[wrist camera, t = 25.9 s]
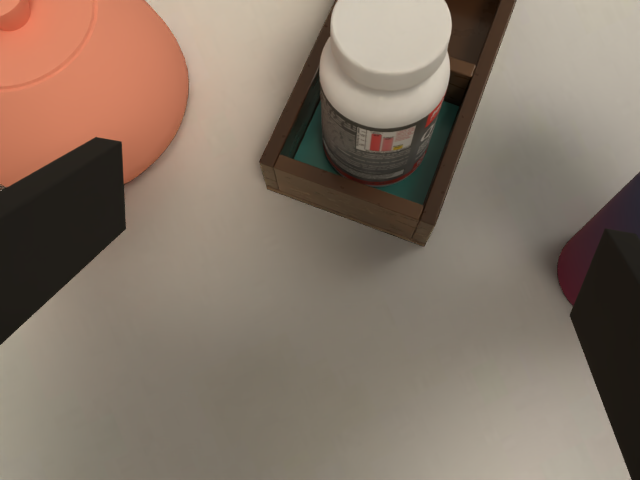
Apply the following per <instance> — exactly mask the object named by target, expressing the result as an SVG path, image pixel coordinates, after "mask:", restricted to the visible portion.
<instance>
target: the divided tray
mask: <svg viewBox="0 0 640 480" xmlns="http://www.w3.org/2000/svg"><path fill="white" fill-rule="evenodd" d="M337 1H338V0H335V2H334V4H333V6H332V8H331V10H330V12H329V14H328V17H327V19H326V21H325V23H324V25H323V27H322V29H321V31H320V34H319V36H318V38H317V40H316V42H315V44H314V46H313V48H312V51H311V53H310V55H309V57H308V59H307V61H306V63H305V66H304V68H303V70H302V72H301V74H300V76H299V78H298V80H297V83H296V85H295V87H294V89H293V91H292V93H291V95H290V97H289V100H288V102H287V104H286V106H285V108H284V110H283V112H282V114H281V117H280V119H279V121H278V123H277V125H276V127H275V129H274V132H273V134H272V136H271V138H270V140H269V142H268V144H267V146H266V149H265V151H264V153H263V155H262V157H261V159H260V162H259V163H260V166H261V169H262V173H263V176H264V179H265V183H266V187H267V189H268V190H271V191H274V192H277V193H279V194H282V195H285V196H288V197H290V198H293V199H296V200H298V201H301V202H304V203H307V204H309V205H312V206H315V207H317V208H320V209H323V210H326V211H328V212H331V213H334V214H337V215H339V216H342V217H345V218H347V219H350V220H353V221H356V222H358V223H361V224H364V225H366V226H369V227H372V228H375V229H377V230H380V231H383V232H386V233H388V234H391V235H394V236H396V237H399V238H402V239H405V240H407V241H410V242H413V243H415V244H418V245H421V246H425V244H426V242H427V240H428V238H429V236H430V234H431V233H432V231H433V229H434V227H435V225H436V222H437V219H438V217H439V214H440V211H441V208H442V205H443V203H444V200H445V197H446V194H447V192H448V189H449V186H450V183H451V181H452V178H453V175H454V172H455V169H456V167H457V164H458V161H459V158H460V156H461V153H462V150H463V147H464V145H465V142H466V139H467V136H468V133H469V131H470V128H471V125H472V122H473V120H474V117H475V114H476V111H477V109H478V106H479V103H480V100H481V97H482V95H483V92H484V89H485V86H486V84H487V81H488V78H489V75H490V73H491V70H492V67H493V64H494V61H495V59H496V56H497V53H498V50H499V48H500V45H501V42H502V39H503V37H504V34H505V31H506V28H507V25H508V23H509V20H510V17H511V14H512V12H513V9H514V6H515V3H516V0H445V2H446V4H447V6H448V8H449V11H450V15H451V21H452V29H451V36H450V40H449V43H448V48H447V52H448V55H449V60H450V77H449V82H448V87H447V90H446V93H445V96H444V100H443V102H442V105H441V108H440V111H439V114H438V118H437V120H436V124H435V127H434V130H433V133H432V136H431V139H430V142H429V145H428V148H427V152H426V154H425V156H424V158H423V160H422V162H421V164H420V165H419V166H418V168H417V169H416V170H415V171H414V172H413V173H412V174H411V175H410V176H408V177H407V178H405V179H404V180H402V181H400V182H398V183H395V184H392V185H389V186H384V187H370V186H367V185H365V184H362V183H359V182H356V181H353V180H351V179H348V178H345V177H343V176H341V175H340V174H339V173H338V172H337V171H336V170H335V169H334V168H333V167H332V165H331V164H330V162H329V161H328V159H327V156H326V154H325V151H324V147H323V140H322V117H321V94H320V76H319V66H320V59H321V54H322V51H323V48H324V46H325V44H326V42H327V40H328V39H329V37H330V25H331V16H332V12H333V9H334V6H335V4H336V3H337Z"/></svg>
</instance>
